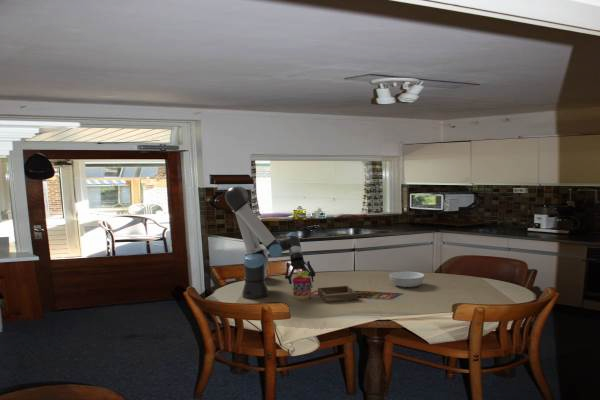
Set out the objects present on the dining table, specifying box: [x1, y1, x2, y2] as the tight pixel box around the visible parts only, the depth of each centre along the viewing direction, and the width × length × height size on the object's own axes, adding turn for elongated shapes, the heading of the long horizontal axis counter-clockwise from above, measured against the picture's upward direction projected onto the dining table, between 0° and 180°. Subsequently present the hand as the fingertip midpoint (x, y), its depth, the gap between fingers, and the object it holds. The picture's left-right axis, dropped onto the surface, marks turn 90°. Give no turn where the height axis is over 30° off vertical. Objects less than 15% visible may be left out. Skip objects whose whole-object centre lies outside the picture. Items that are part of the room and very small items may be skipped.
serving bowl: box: [388, 270, 426, 288], centre depth 283 cm, size 21×21×7 cm
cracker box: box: [261, 246, 270, 280], centre depth 311 cm, size 14×6×21 cm, turn 160°
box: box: [317, 285, 359, 304], centre depth 261 cm, size 18×18×4 cm
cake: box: [292, 271, 312, 301], centre depth 263 cm, size 10×11×15 cm
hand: (302, 287), depth 261 cm, fingers closed on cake, 10 cm apart
